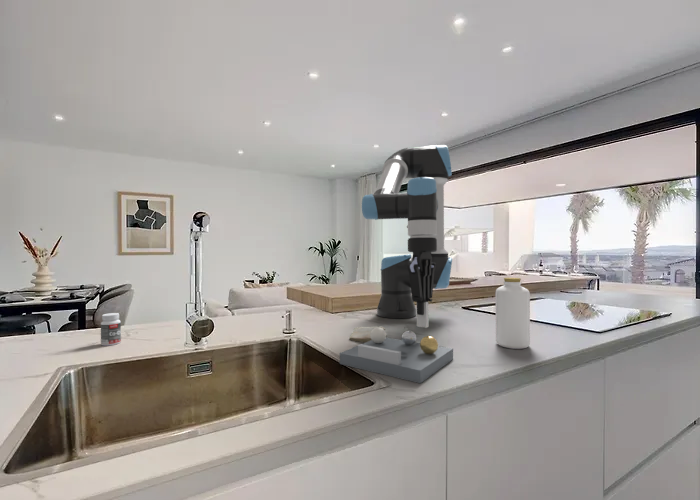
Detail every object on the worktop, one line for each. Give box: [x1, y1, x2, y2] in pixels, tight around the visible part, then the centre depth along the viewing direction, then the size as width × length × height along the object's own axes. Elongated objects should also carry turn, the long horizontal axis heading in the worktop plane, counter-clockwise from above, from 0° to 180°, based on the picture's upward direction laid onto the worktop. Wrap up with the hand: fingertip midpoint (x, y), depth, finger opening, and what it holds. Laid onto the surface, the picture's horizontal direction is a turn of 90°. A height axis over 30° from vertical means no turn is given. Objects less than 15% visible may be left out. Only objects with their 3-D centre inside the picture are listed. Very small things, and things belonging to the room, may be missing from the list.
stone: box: [349, 326, 386, 343], centre depth 104 cm, size 15×11×3 cm
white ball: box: [370, 326, 387, 344], centre depth 89 cm, size 4×4×4 cm
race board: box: [339, 336, 454, 384], centre depth 83 cm, size 18×20×5 cm
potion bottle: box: [495, 277, 531, 350], centre depth 95 cm, size 8×8×18 cm
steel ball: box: [401, 329, 417, 345], centre depth 88 cm, size 4×4×4 cm
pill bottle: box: [100, 312, 122, 347], centre depth 100 cm, size 5×5×8 cm
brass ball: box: [419, 335, 439, 354], centre depth 80 cm, size 4×4×4 cm
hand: (422, 326), depth 94 cm, fingers closed
